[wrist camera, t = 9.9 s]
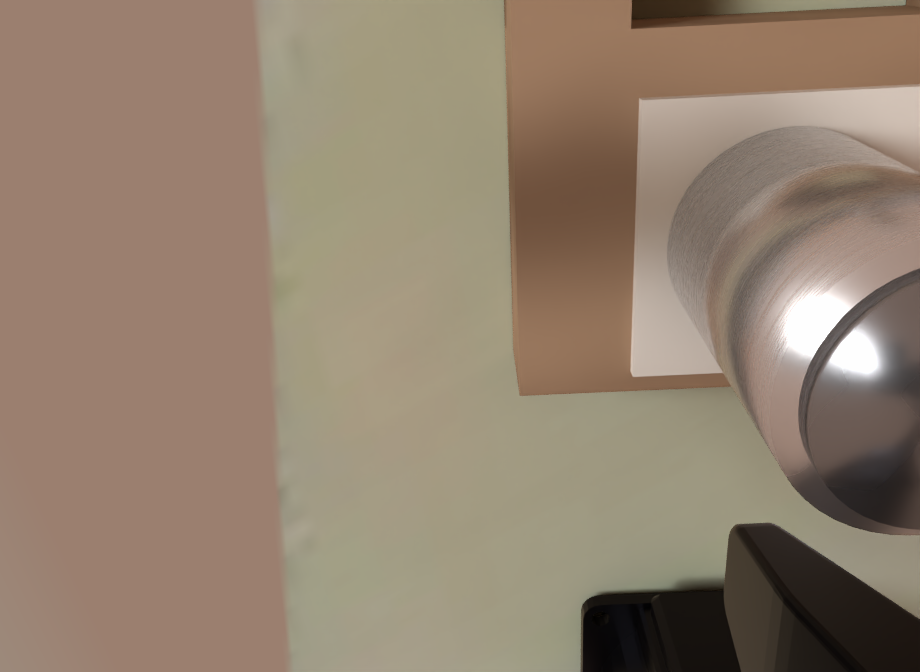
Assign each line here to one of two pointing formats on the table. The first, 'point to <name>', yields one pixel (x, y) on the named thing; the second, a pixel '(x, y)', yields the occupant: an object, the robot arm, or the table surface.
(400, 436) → the table surface
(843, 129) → the block
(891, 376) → the plug
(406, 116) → the table surface
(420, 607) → the table surface
